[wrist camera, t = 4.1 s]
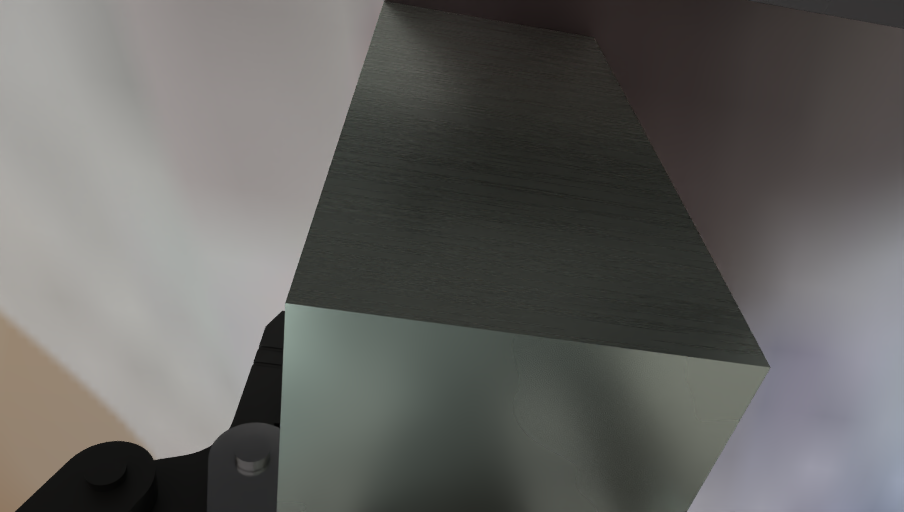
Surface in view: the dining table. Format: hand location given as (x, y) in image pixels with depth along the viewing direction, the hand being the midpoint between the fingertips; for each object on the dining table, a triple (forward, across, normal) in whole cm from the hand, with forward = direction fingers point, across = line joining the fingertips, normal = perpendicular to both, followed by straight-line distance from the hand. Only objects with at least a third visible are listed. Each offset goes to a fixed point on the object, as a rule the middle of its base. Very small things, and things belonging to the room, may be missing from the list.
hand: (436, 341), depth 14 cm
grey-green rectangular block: (+2, 0, 0) cm, 2 cm away
